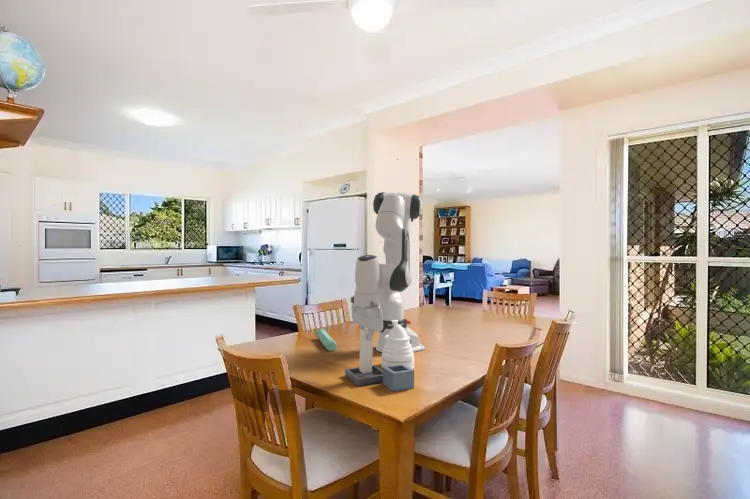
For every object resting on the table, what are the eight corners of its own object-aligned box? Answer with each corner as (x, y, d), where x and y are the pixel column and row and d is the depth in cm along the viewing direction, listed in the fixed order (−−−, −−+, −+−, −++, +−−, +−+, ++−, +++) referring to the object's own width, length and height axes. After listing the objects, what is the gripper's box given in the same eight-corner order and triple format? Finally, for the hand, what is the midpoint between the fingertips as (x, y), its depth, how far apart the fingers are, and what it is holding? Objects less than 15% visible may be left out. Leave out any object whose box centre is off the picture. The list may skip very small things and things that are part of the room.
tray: (374, 371, 151) (374, 365, 151) (388, 381, 140) (389, 374, 140) (345, 375, 146) (345, 369, 145) (357, 386, 135) (357, 379, 135)
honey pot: (375, 365, 158) (375, 320, 158) (399, 359, 166) (399, 317, 166) (395, 374, 148) (396, 326, 148) (420, 367, 156) (421, 322, 155)
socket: (402, 380, 141) (402, 363, 141) (414, 388, 134) (414, 370, 134) (382, 383, 137) (382, 366, 137) (393, 391, 130) (393, 373, 130)
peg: (368, 369, 145) (369, 328, 145) (371, 372, 141) (373, 330, 141) (359, 370, 143) (360, 329, 143) (362, 373, 140) (364, 331, 140)
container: (335, 338, 179) (324, 326, 202) (323, 344, 177) (314, 331, 201) (340, 349, 180) (328, 336, 203) (328, 355, 178) (318, 341, 201)
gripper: (388, 304, 134) (387, 344, 134) (364, 296, 153) (363, 332, 153) (371, 305, 131) (370, 346, 132) (348, 297, 150) (348, 333, 150)
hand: (366, 338), depth 142 cm, fingers closed on peg, 3 cm apart
